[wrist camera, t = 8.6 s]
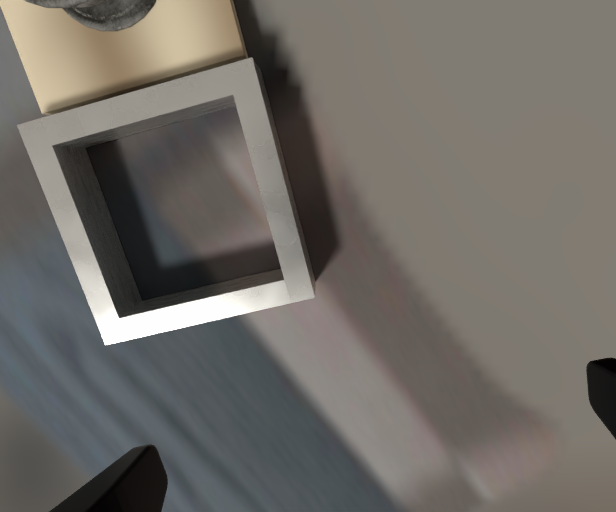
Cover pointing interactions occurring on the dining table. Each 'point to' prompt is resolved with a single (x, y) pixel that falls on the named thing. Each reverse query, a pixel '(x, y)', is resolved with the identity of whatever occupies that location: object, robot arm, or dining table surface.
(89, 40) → the wooden square board
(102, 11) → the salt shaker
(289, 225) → the grey square frame
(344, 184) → the dining table surface
